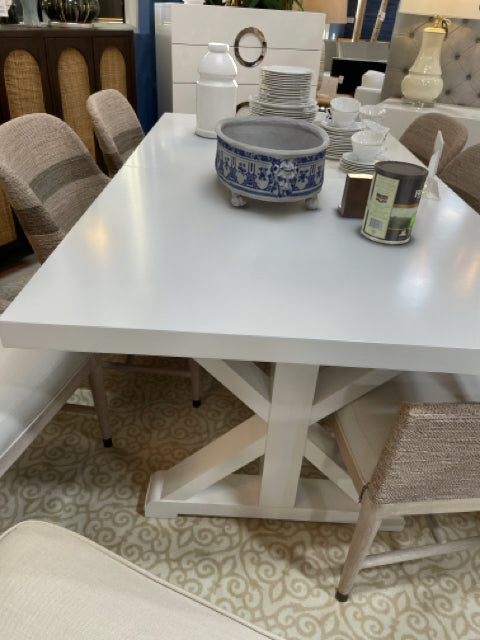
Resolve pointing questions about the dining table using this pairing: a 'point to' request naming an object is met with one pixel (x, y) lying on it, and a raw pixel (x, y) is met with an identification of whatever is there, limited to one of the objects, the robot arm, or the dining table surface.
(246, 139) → the decorative bowl
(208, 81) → the bottle
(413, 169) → the coffee can
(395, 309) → the dining table surface
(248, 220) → the dining table surface
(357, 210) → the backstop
